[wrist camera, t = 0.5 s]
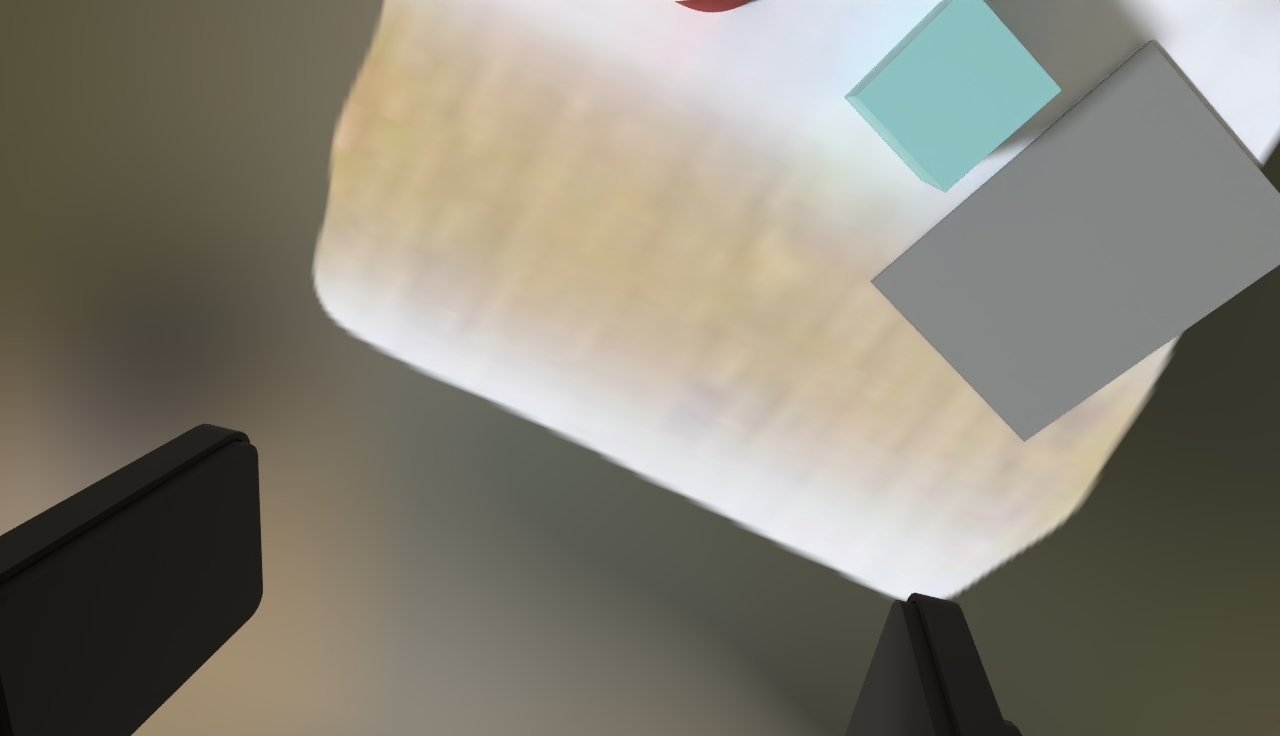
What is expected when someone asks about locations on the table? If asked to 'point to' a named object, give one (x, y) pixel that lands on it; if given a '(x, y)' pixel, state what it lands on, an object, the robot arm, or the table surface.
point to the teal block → (952, 91)
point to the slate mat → (1090, 247)
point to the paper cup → (711, 4)
